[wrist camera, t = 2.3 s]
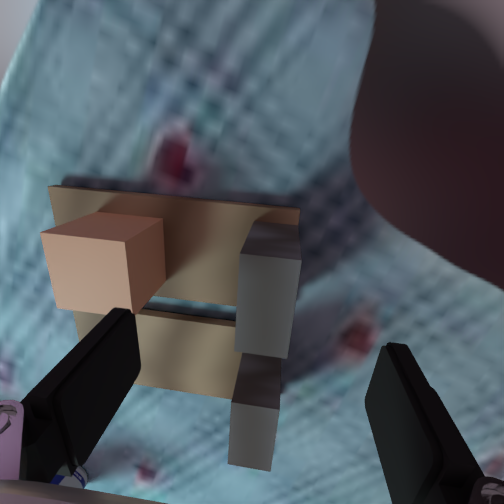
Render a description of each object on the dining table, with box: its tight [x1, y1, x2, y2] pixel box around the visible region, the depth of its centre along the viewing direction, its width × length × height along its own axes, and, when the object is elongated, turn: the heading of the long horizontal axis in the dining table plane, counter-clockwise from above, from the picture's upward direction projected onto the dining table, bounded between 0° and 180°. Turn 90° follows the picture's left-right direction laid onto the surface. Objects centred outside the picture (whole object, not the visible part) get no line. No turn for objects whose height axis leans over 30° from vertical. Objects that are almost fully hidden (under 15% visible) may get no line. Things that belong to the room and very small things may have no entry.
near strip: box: [48, 185, 302, 359], centre depth 18 cm, size 18×8×7 cm, turn 86°
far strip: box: [73, 309, 281, 472], centre depth 22 cm, size 18×8×7 cm, turn 86°
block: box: [40, 212, 166, 316], centre depth 19 cm, size 5×5×5 cm
